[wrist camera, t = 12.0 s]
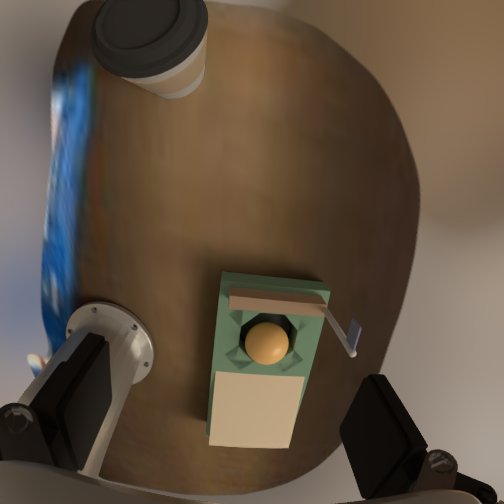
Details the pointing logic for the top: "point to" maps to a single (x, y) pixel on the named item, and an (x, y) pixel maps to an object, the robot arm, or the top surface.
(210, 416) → the putting mat
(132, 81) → the coffee cup
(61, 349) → the robot arm
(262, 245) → the top surface
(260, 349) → the ball
